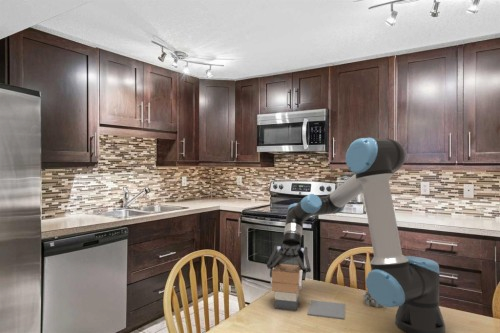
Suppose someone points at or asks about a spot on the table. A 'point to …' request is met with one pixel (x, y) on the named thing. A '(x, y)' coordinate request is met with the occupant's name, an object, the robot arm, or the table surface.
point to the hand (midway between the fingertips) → (286, 286)
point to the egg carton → (369, 301)
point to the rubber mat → (327, 309)
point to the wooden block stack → (286, 278)
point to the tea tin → (286, 300)
